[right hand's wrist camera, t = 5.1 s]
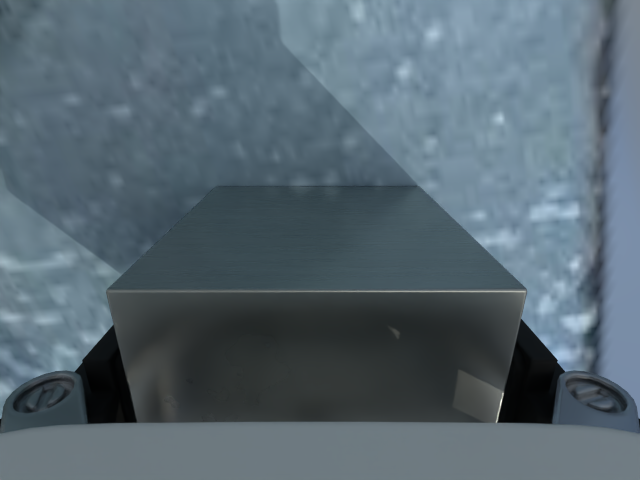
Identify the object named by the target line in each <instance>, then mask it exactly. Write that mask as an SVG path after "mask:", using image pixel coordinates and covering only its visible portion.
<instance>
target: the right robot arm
mask: <svg viewBox="0 0 640 480" xmlns="http://www.w3.org/2000/svg"><path fill="white" fill-rule="evenodd" d="M82 361H83V363H82V364H81V365H80V366H79V367H78V369H77V370H76V371H75V372H72V371H55V372H51V373H47V374H44V375H41V376H39V377H36V378H33V379H32V380H30V381H28V382H26V383H24V384H23V385H21V386H20V387H19V388H17V389H16V390H15V391H13V392H12V394H11V395H10V396H9V397H8V398H7V399H6V402H5V404H4V406H3V412H2V418H1V419H0V480H640V419H639V418H638V412H637V406H636V404H635V402H634V399H633V398H632V397H631V396H630V395H629V394H628V392H627V391H625V390H624V389H623V388H621V387H620V386H619V385H617V384H616V383H614V382H612V381H610V380H608V379H607V378H604V377H601V376H599V375H596V374H593V373H589V372H585V371H568V372H565V371H564V370H563V369H562V367H561V366H560V365H559V364H558V363H557V361H558V360H557V359H556V358H555V357H554V356H553V354H552V353H551V352H550V351H549V350H548V349H547V348H546V346H545V345H544V344H543V343H542V342H541V341H540V340H539V338H538V337H537V336H536V335H535V334H534V333H533V332H532V330H531V329H530V328H529V327H528V326H527V325H526V324H525V323H524V321H523V320H522V319H521V321H520V325H519V330H518V334H517V339H516V343H515V348H514V352H513V357H512V361H511V365H510V370H509V374H508V379H507V383H506V388H505V392H504V397H503V401H502V405H501V410H500V414H499V419H498V423H457V422H183V423H137V422H136V418H135V414H134V409H133V405H132V401H131V397H130V392H129V388H128V384H127V379H126V375H125V371H124V366H123V362H122V358H121V354H120V349H119V345H118V341H117V336H116V332H115V328H114V325H113V326H112V327H111V328H110V329H109V330H108V332H107V333H106V334H105V335H104V336H103V337H102V338H101V340H100V341H99V342H98V343H97V344H96V345H95V346H94V348H93V349H92V350H91V351H90V352H89V353H88V354H87V356H86V357H85V358H84V359H83V360H82Z"/></svg>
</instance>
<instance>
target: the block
mask: <svg viewBox="0 0 640 480" xmlns="http://www.w3.org/2000/svg"><path fill="white" fill-rule="evenodd" d="M106 293H107V298H108V302H109V306H110V311H111V315H112V319H113V323H114V328H115V332H116V336H117V341H118V345H119V349H120V354H121V358H122V362H123V366H124V371H125V375H126V379H127V384H128V388H129V392H130V397H131V401H132V405H133V409H134V414H135V418H136V422H137V423H183V422H457V423H498V419H499V414H500V410H501V405H502V401H503V397H504V392H505V388H506V383H507V379H508V374H509V370H510V365H511V361H512V357H513V352H514V348H515V343H516V339H517V334H518V330H519V325H520V321H521V317H522V312H523V308H524V303H525V299H526V294H527V289H526V288H525V287H524V286H523V285H522V284H521V283H520V282H519V281H518V280H517V279H516V278H515V277H514V276H513V275H511V274H510V273H509V272H508V271H507V270H506V269H505V268H504V267H503V266H502V265H501V264H500V263H499V262H498V261H497V260H496V259H495V258H494V257H493V256H492V255H491V254H490V253H489V252H487V251H486V250H485V249H484V248H483V247H482V246H481V245H480V244H479V243H478V242H477V241H476V240H475V239H474V238H473V237H472V236H471V235H470V234H469V233H468V232H467V231H466V230H465V229H463V228H462V227H461V226H460V225H459V224H458V223H457V222H456V221H455V220H454V219H453V218H452V217H451V216H450V215H449V214H448V213H447V212H446V211H445V210H444V209H443V208H442V207H441V206H439V205H438V204H437V203H436V202H435V201H434V200H433V199H432V198H431V197H430V196H429V195H428V194H427V193H426V192H425V191H424V190H423V189H422V188H421V187H419V186H247V187H215V188H214V189H213V190H212V191H211V192H210V193H209V194H208V195H207V196H206V197H205V198H203V199H202V200H201V201H200V202H199V203H198V204H197V205H196V206H195V207H194V208H193V209H192V210H191V211H190V212H189V213H188V214H186V215H185V216H184V217H183V218H182V219H181V220H180V221H179V222H178V223H177V224H176V225H175V226H174V227H173V228H172V229H171V230H169V231H168V232H167V233H166V234H165V235H164V236H163V237H162V238H161V239H160V240H159V241H158V242H157V243H156V244H155V245H154V246H153V247H151V248H150V249H149V250H148V251H147V252H146V253H145V254H144V255H143V256H142V257H141V258H140V259H139V260H138V261H137V262H136V263H134V264H133V265H132V266H131V267H130V268H129V269H128V270H127V271H126V272H125V273H124V274H123V275H122V276H121V277H120V278H119V279H117V280H116V281H115V282H114V283H113V284H112V285H111V286H110V287H109V288H108V289H107V291H106Z"/></svg>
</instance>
